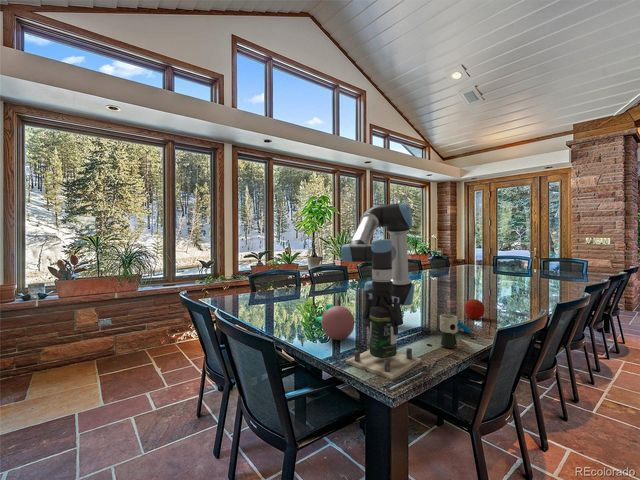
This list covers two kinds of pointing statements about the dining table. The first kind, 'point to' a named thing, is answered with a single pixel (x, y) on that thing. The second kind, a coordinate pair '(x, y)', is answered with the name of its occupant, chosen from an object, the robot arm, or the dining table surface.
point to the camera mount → (326, 309)
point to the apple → (474, 309)
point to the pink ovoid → (337, 322)
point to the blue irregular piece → (462, 327)
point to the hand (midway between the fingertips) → (383, 340)
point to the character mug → (448, 330)
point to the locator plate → (379, 364)
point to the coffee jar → (381, 333)
